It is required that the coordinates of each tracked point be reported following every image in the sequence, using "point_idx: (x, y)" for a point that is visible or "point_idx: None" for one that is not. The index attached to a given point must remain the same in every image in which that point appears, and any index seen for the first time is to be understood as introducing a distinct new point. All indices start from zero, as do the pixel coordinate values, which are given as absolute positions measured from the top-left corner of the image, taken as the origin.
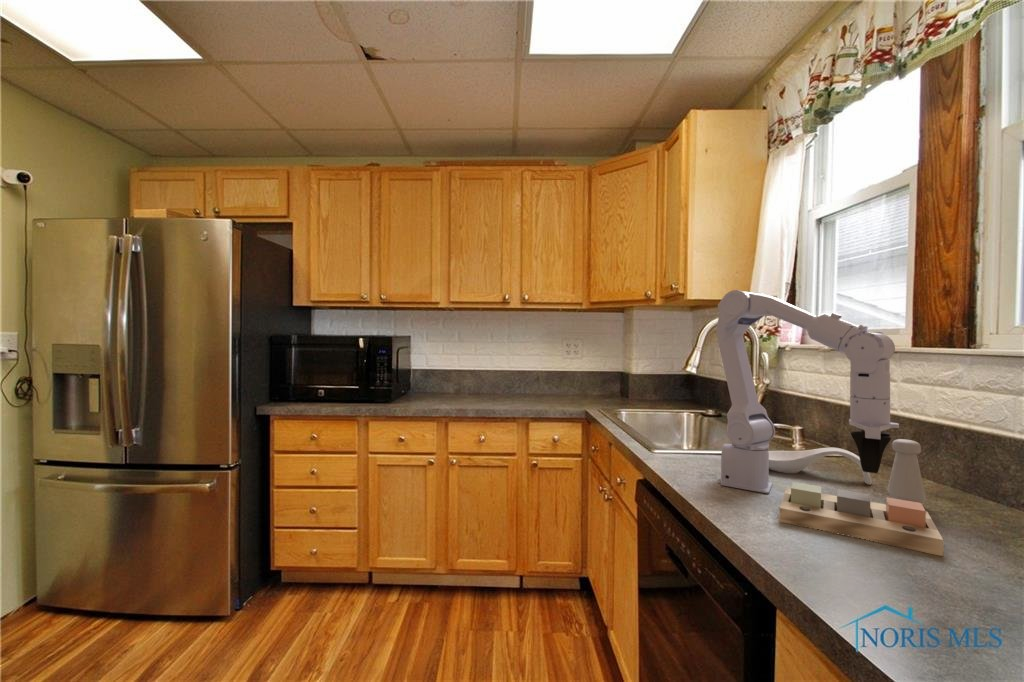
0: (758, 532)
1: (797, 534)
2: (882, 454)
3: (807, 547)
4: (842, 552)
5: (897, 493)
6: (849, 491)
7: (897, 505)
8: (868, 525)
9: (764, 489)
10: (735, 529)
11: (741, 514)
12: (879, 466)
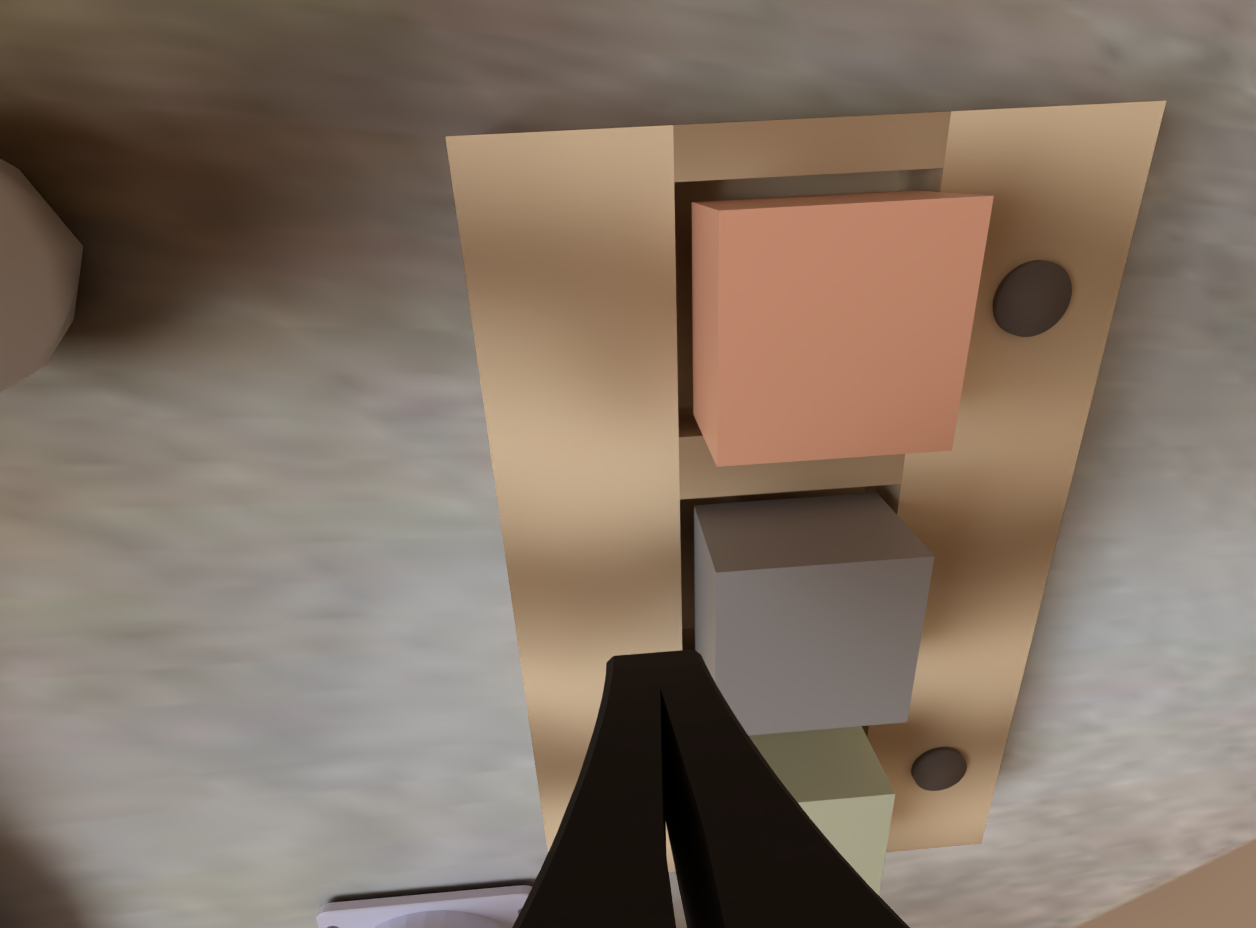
0: (1122, 808)
1: (1075, 706)
2: (824, 846)
3: (1220, 659)
4: (1226, 548)
5: (35, 337)
6: (723, 676)
7: (936, 394)
8: (1064, 502)
9: (502, 912)
10: (1126, 865)
11: (929, 888)
12: (724, 699)
